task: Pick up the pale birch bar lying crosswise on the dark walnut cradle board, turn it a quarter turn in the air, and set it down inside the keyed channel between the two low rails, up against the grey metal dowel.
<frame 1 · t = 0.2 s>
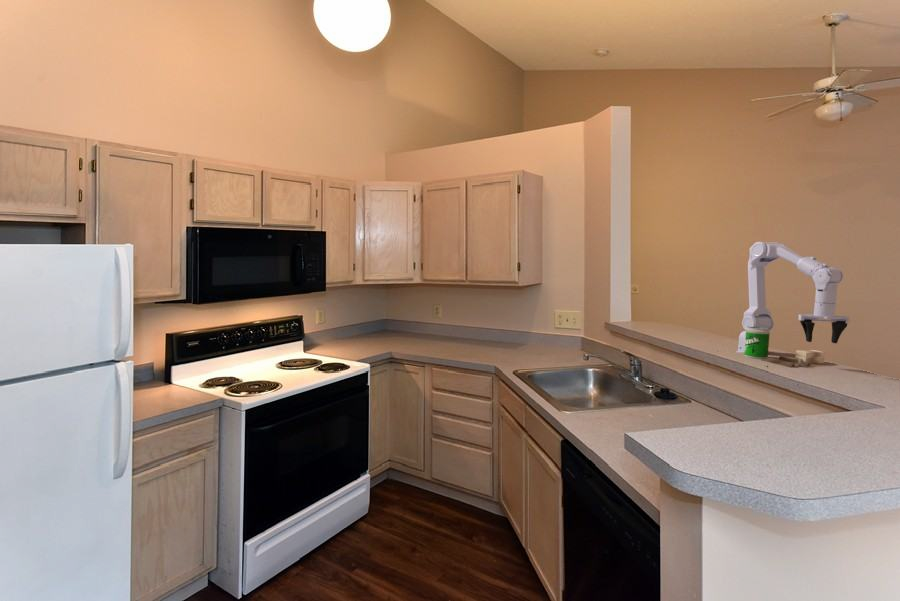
hand: (821, 342, 169), 9 cm above the worktop, fingers open, 7 cm apart
cradle: (797, 365, 175), on the worktop
birch bar: (809, 362, 176), point 1 cm above the worktop, touching cradle
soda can: (755, 360, 184), on the worktop
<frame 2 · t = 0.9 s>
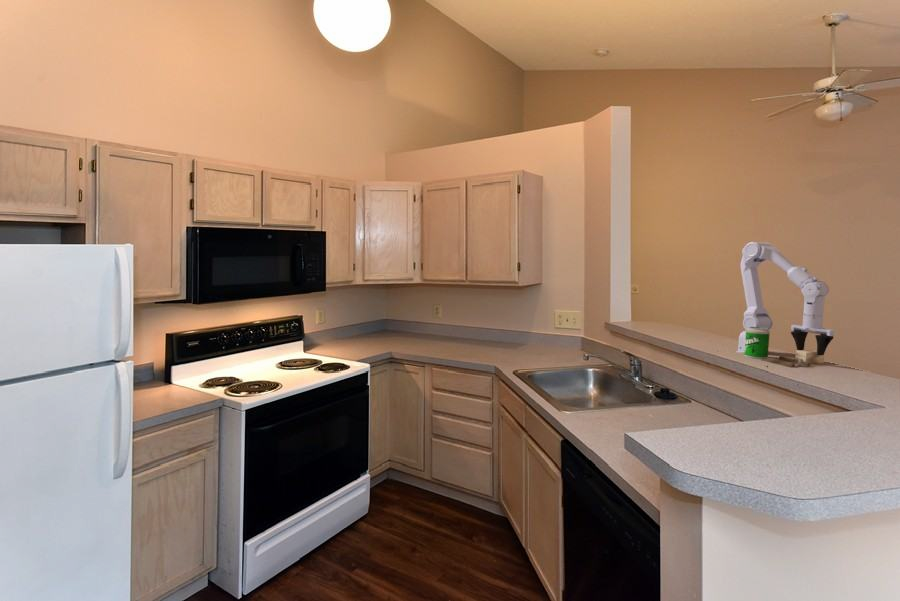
hand: (810, 353, 176), 4 cm above the worktop, fingers open, 7 cm apart
nothing on the worktop moved.
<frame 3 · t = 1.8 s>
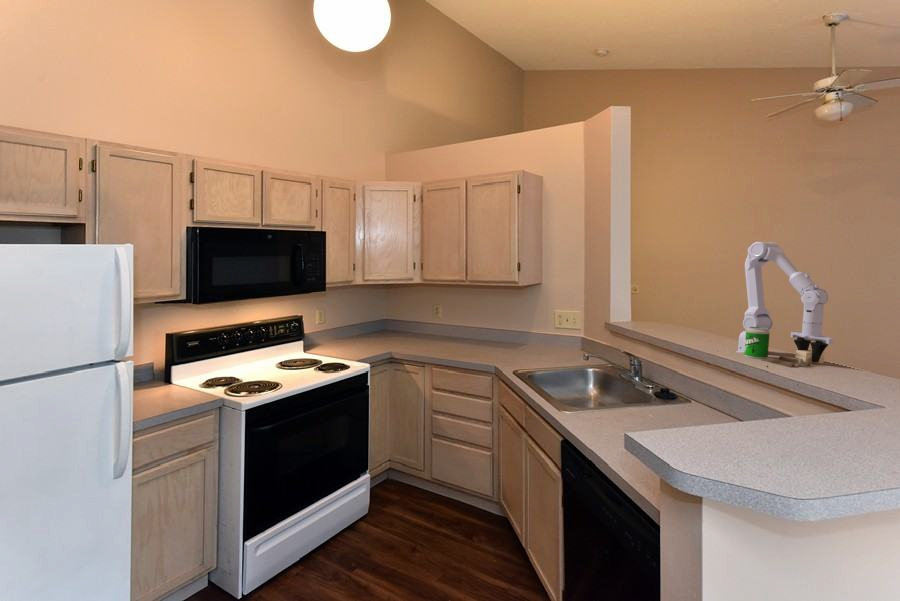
hand: (809, 360, 176), 2 cm above the worktop, fingers closed on birch bar, 4 cm apart
birch bar: (809, 362, 176), point 1 cm above the worktop, touching cradle, gripper
everything else where it was.
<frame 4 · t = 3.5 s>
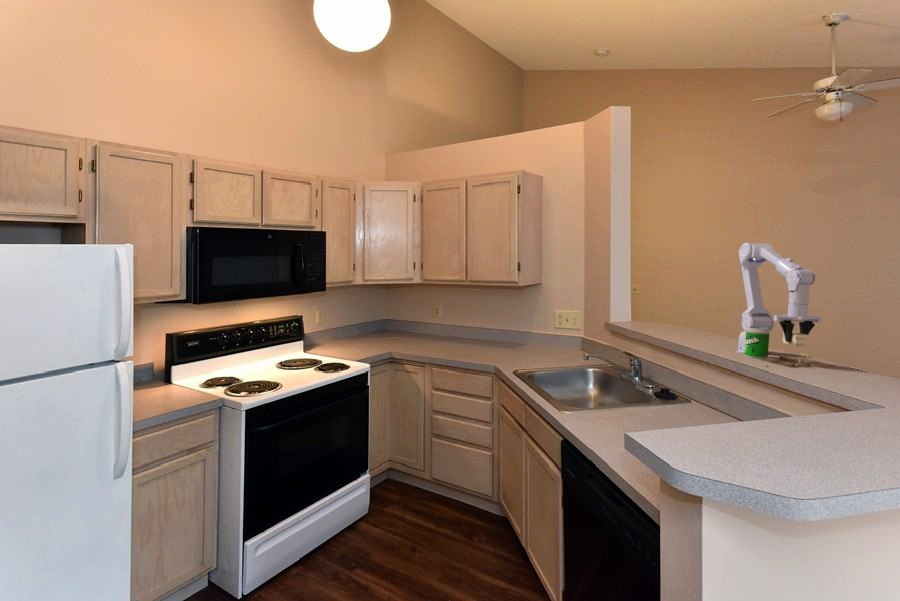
hand: (795, 342, 174), 8 cm above the worktop, fingers closed on birch bar, 4 cm apart
birch bar: (794, 344, 174), point 8 cm above the worktop, touching gripper
everything else where it was.
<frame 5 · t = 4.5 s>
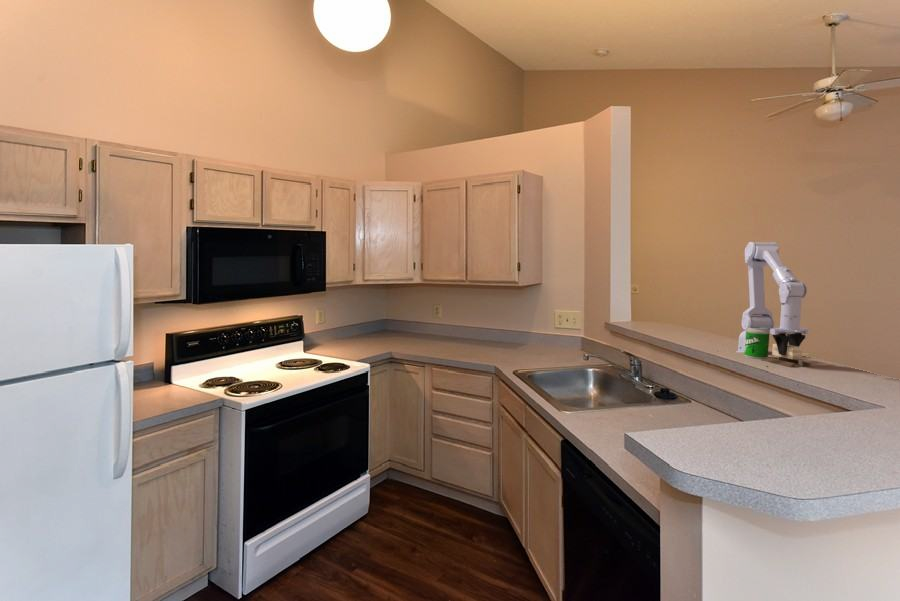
hand: (787, 354, 174), 4 cm above the worktop, fingers closed on birch bar, 4 cm apart
birch bar: (786, 356, 174), point 3 cm above the worktop, touching gripper
everything else where it was.
when the fingers open (3 cm above the worktop, at t = 5.2 s): birch bar stays where it is, resting on cradle.
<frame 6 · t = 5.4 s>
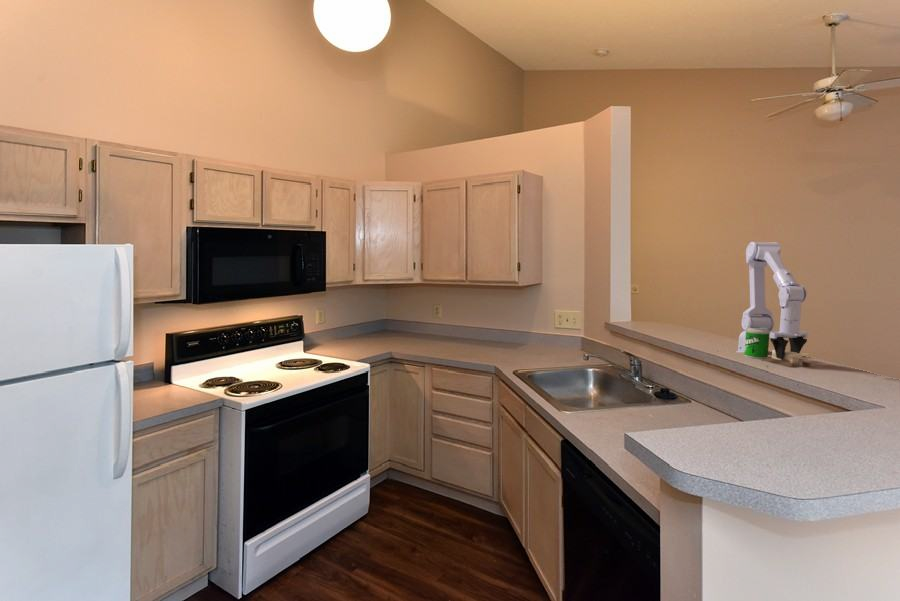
hand: (786, 358, 174), 3 cm above the worktop, fingers open, 6 cm apart
birch bar: (785, 363, 174), point 1 cm above the worktop, touching cradle
everything else where it was.
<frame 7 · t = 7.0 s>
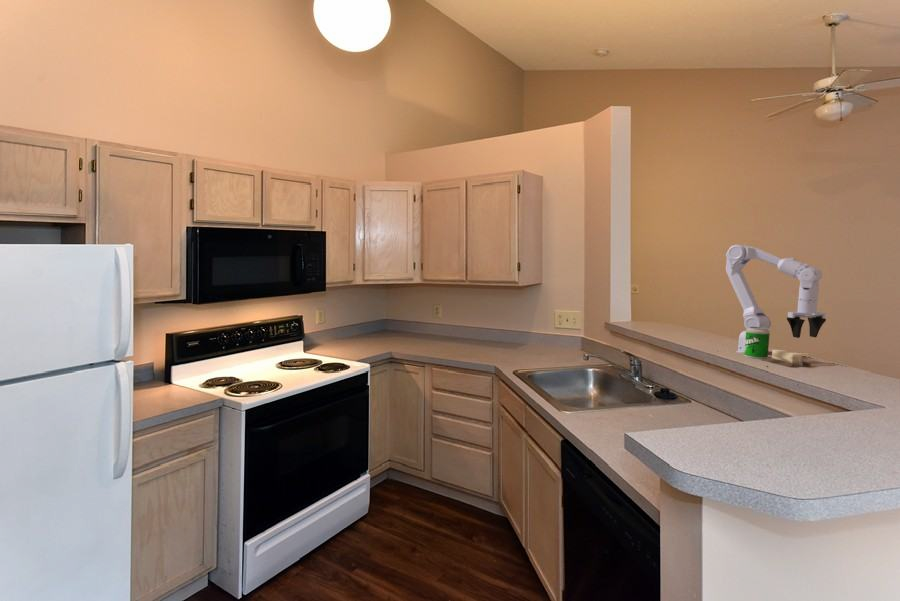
hand: (804, 337, 180), 9 cm above the worktop, fingers open, 7 cm apart
nothing on the worktop moved.
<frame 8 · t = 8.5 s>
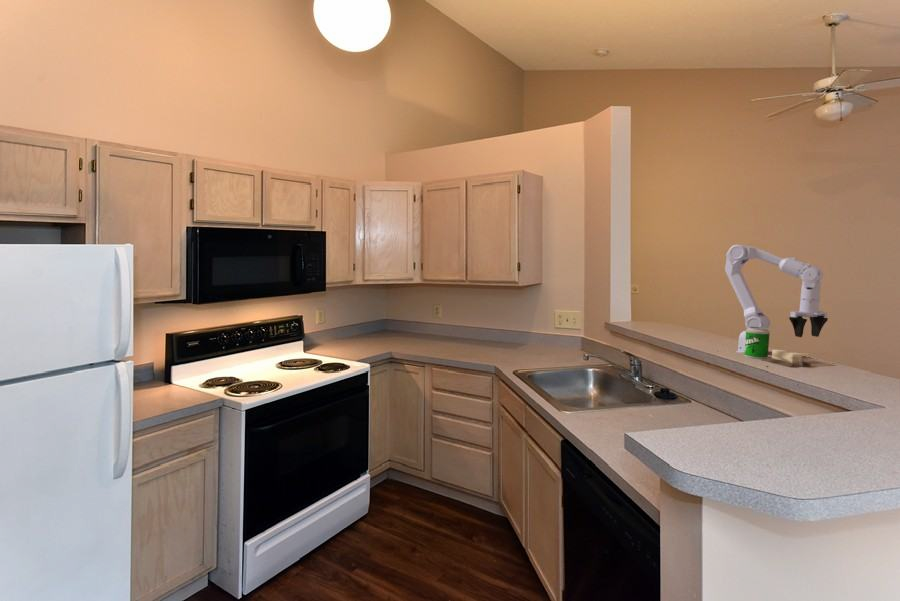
hand: (806, 336, 182), 9 cm above the worktop, fingers open, 7 cm apart
nothing on the worktop moved.
at the end: birch bar 0.3 cm from the target spot, point 1.0 cm above the worktop; birch bar tilted 0°; the gripper is holding nothing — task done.
